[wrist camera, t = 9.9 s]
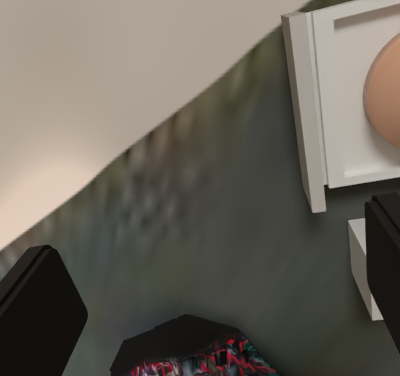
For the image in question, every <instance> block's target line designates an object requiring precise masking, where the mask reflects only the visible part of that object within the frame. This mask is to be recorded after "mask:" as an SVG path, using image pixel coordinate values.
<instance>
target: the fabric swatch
mask: <svg viewBox="0 0 400 376" xmlns="http://www.w3.org/2000/svg"><path fill="white" fill-rule="evenodd" d="M229 338H232V339H231V340H229ZM110 371H111V376H280V375H279V374H277V373H276V370H274V369H272V368H270V365H269V364H268V363H266V362H264V360H263V357H262V356H260V355H258V354H257V351H256V349H254V348H253V346H252V344H250V343H249V341H248V340H247V339H245V337H244V335H243V334H240V332H239V330H238V329H236V328H232V327H229V326H225V325H222V324H218V323H215V322H212V321H208V320H205V319H201V318H198V317H194V316H191V315H187V314H185V315H182V316H180V317H178V318H177V319H172V320H170V321H168V322H165V323H163V324H160V325H158V326H156V327H155V328H154V329H152V330H150V331H147V332H145V333H142V334H140V335H137V336H135V337H132V338H130V339H127V340H124V341H123V343H122V345H121V347H120V349H119V352H118V354H117V356H116V358H115V360H114V362H113V364H112V366H111V368H110Z"/></svg>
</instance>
